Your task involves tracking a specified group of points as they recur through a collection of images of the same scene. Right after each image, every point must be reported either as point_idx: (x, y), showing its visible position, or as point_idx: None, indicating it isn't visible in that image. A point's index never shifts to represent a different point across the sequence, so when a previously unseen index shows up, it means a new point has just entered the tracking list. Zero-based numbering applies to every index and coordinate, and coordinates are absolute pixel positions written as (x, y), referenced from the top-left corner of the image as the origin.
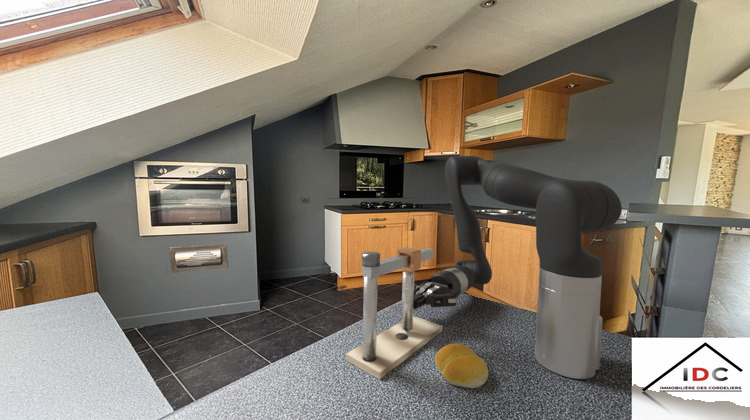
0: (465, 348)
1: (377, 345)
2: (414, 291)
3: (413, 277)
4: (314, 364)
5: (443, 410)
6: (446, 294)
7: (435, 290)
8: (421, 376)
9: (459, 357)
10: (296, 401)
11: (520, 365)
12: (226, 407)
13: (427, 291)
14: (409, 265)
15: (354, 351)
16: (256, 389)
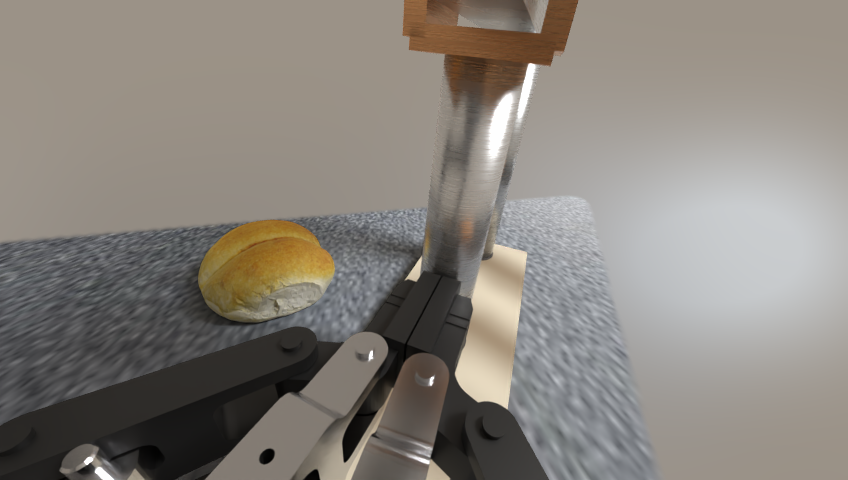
0: (244, 253)
1: (487, 285)
2: (472, 409)
3: (439, 114)
4: (560, 249)
5: (332, 217)
6: (130, 411)
7: (233, 460)
8: (366, 255)
9: (278, 228)
10: (513, 208)
11: (44, 332)
12: (566, 199)
13: (340, 416)
14: (467, 17)
15: (518, 260)
16: (570, 213)
